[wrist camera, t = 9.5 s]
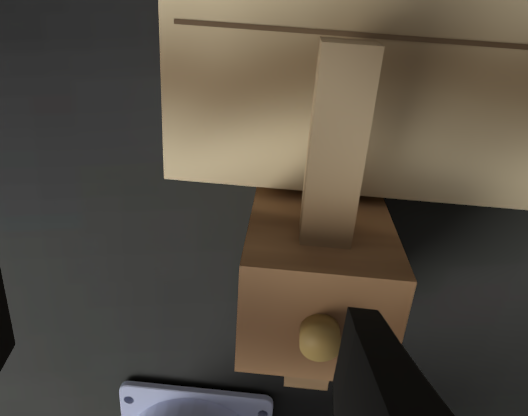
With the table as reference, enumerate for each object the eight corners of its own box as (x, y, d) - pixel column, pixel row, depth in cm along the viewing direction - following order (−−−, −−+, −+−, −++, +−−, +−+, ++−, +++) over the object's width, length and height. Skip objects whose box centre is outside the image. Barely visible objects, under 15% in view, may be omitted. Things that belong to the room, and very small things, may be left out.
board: (729, 212, 18) (764, 230, 17) (173, 165, 19) (164, 179, 17) (854, -14, 15) (912, -15, 13) (168, -60, 15) (156, -65, 14)
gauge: (358, 309, 21) (383, 449, 15) (250, 299, 22) (229, 433, 15) (410, 34, 16) (483, 64, 10) (267, 24, 16) (246, 46, 10)
